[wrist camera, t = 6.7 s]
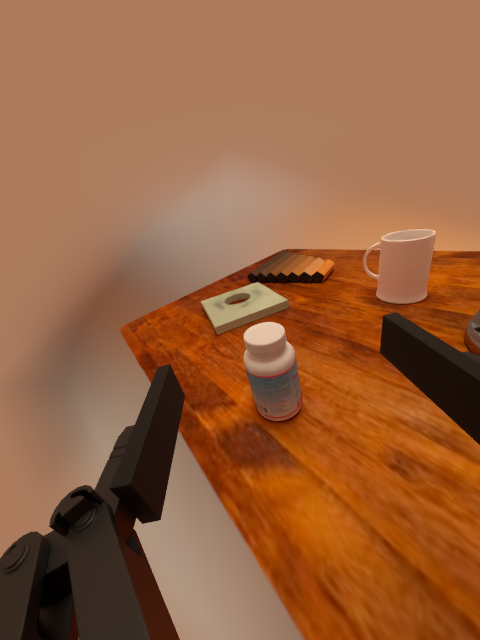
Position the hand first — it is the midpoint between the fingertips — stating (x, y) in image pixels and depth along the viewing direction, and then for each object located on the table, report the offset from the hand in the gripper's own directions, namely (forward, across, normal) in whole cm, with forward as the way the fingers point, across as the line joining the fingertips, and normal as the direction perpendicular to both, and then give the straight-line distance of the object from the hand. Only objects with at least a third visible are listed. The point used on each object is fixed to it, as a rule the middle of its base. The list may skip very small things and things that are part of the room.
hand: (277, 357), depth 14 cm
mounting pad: (+42, -2, -15) cm, 45 cm away
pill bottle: (+10, 0, -16) cm, 18 cm away
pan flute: (+63, +19, -15) cm, 67 cm away
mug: (+31, +30, -15) cm, 46 cm away
